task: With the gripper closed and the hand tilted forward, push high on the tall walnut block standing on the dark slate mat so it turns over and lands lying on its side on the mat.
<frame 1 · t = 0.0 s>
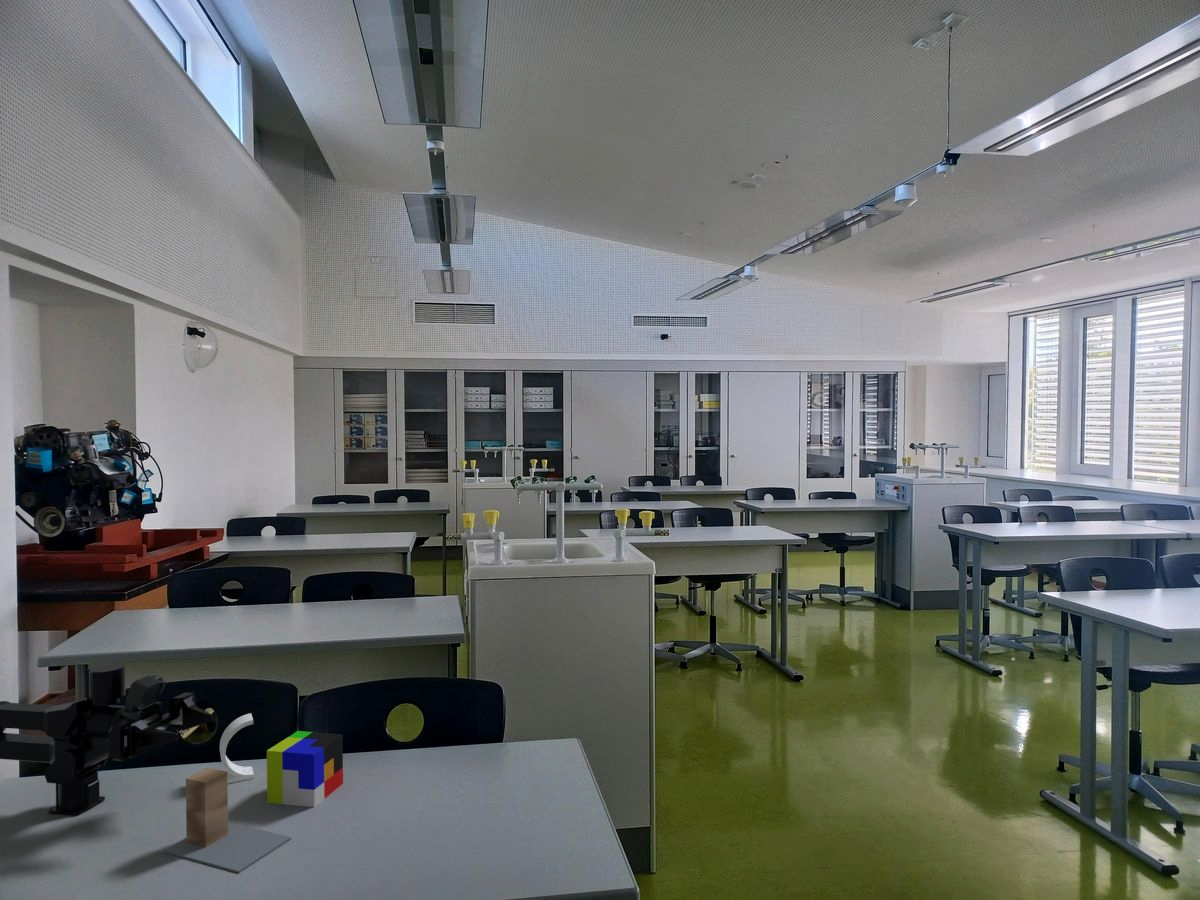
hand: (195, 727, 137), 17 cm above the lab bench, tool horizontal, fingers open, 9 cm apart
slate mat: (228, 845, 127), on the lab bench
headphone stand: (236, 778, 153), on the lab bench
puzzle toy: (306, 794, 146), on the lab bench
walnut block: (207, 838, 129), resting on slate mat
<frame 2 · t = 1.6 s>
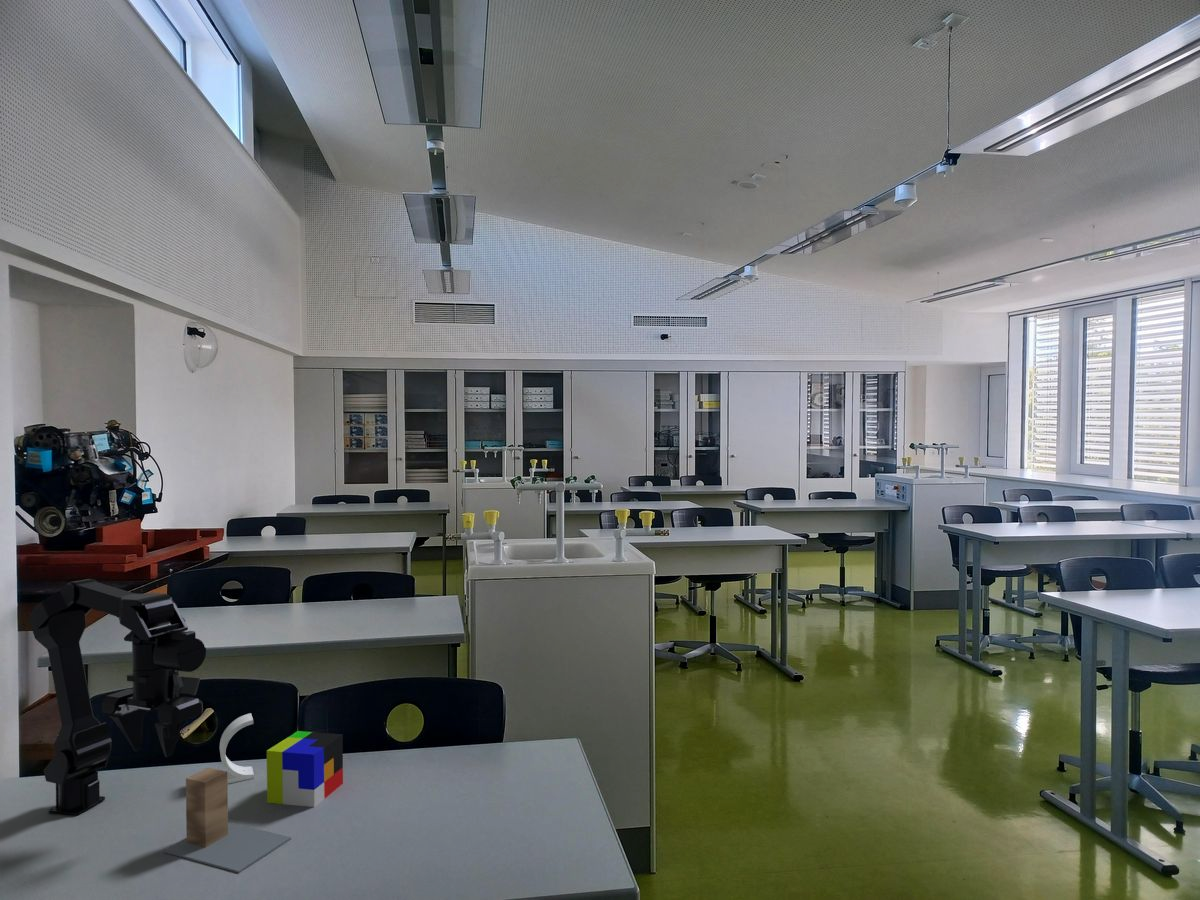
hand: (152, 753, 134), 13 cm above the lab bench, tool pointing down, fingers open, 8 cm apart
nothing on the lab bench moved.
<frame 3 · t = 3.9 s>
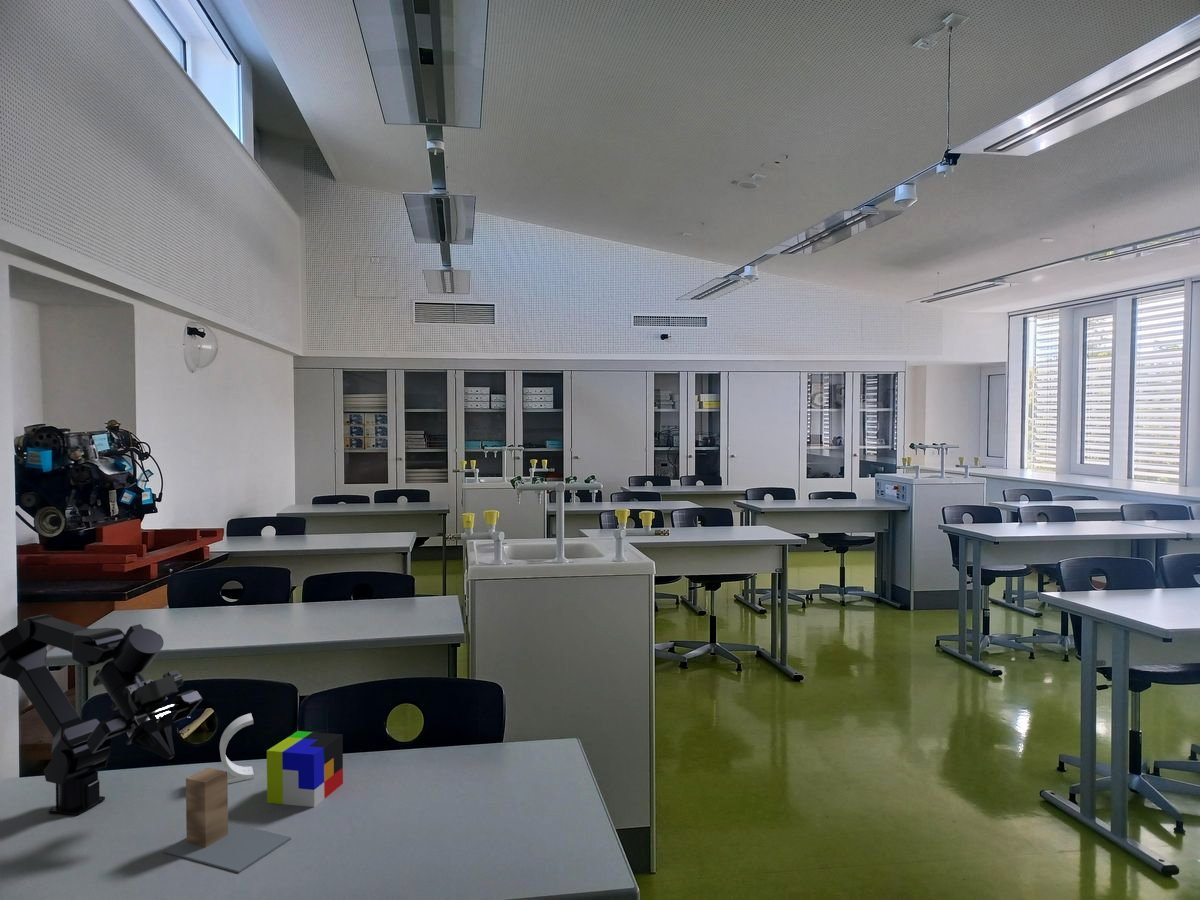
hand: (171, 757, 132), 13 cm above the lab bench, tool tilted 45°, fingers closed
nothing on the lab bench moved.
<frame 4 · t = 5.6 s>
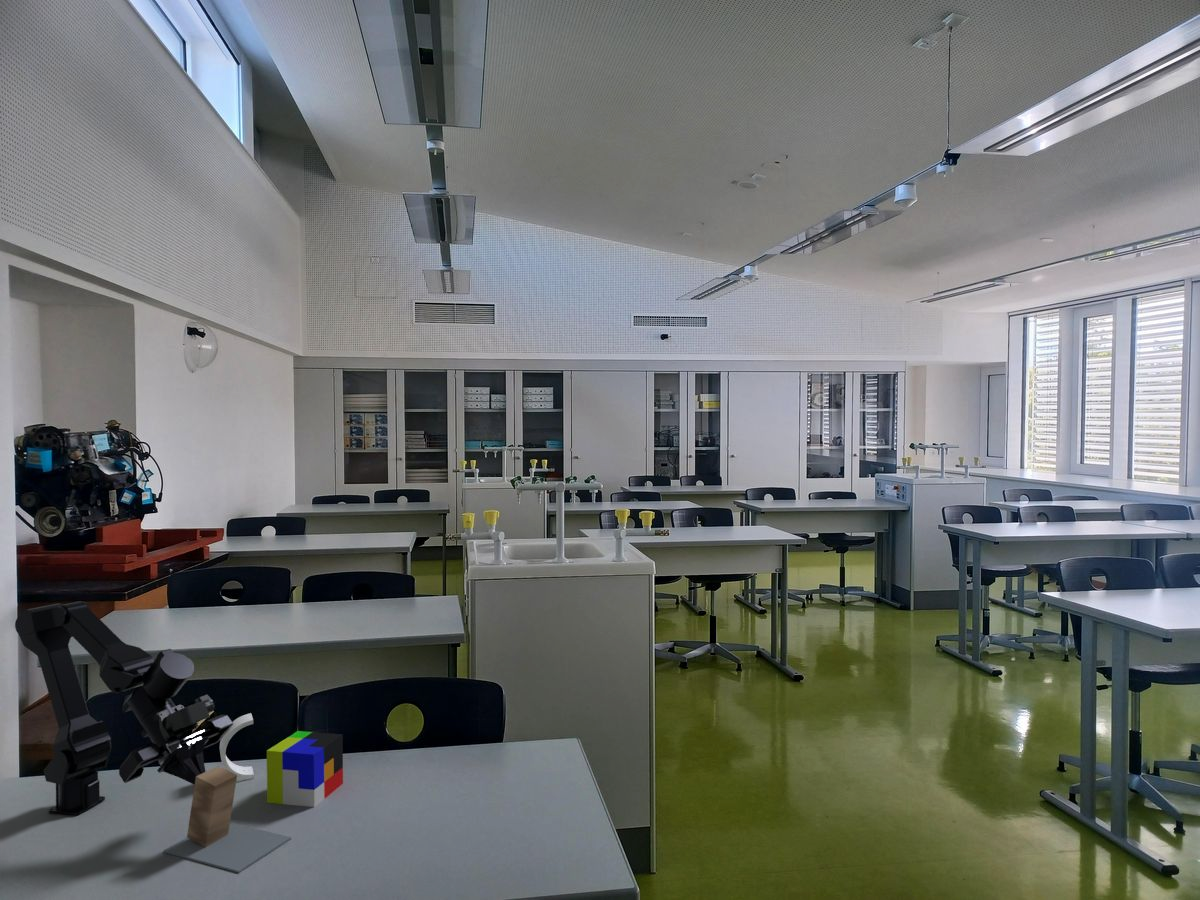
hand: (204, 785, 129), 9 cm above the lab bench, tool tilted 45°, fingers closed, pressing on walnut block
walnut block: (207, 835, 129), point 1 cm above the lab bench, tilted 12°, touching gripper, slate mat
everything else where it was.
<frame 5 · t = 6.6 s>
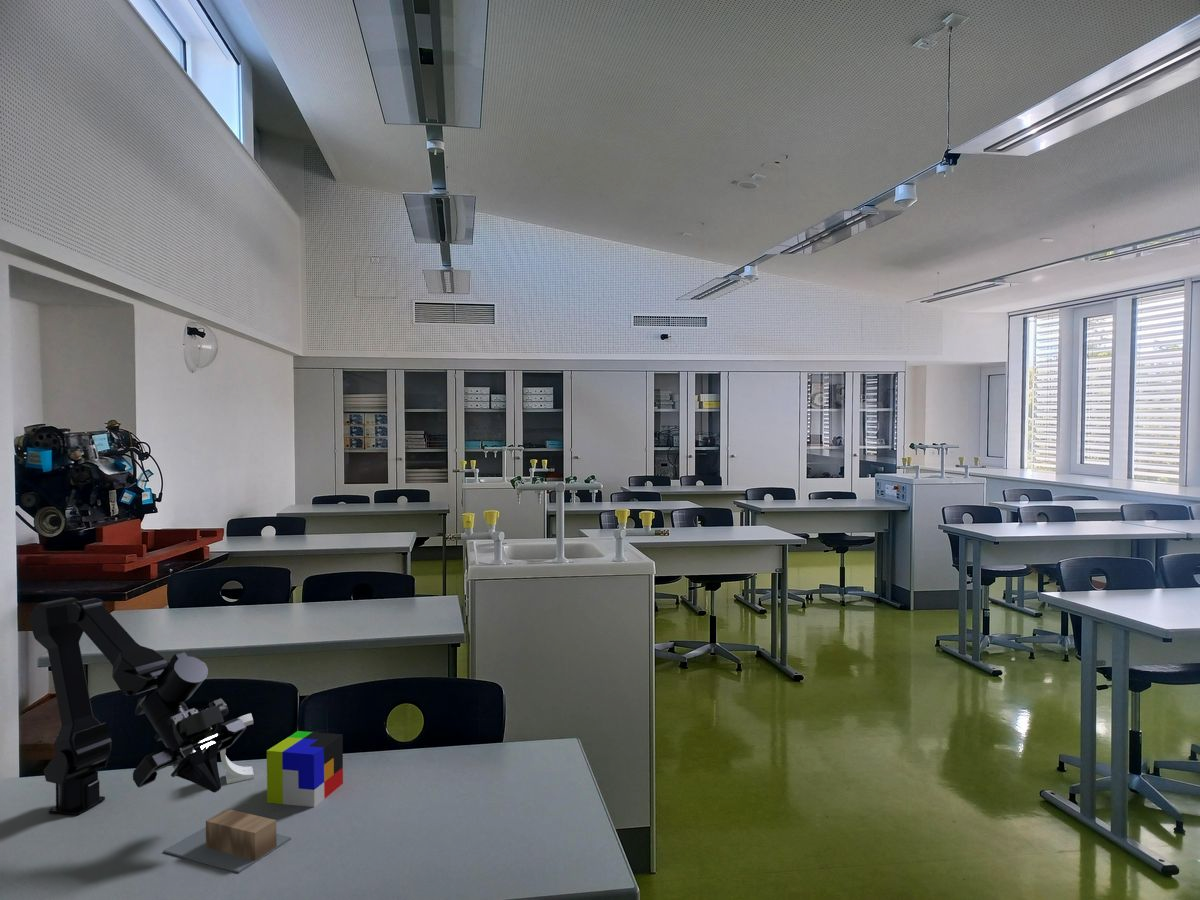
hand: (217, 790, 128), 9 cm above the lab bench, tool tilted 45°, fingers closed
walnut block: (217, 827, 128), point 3 cm above the lab bench, tilted 90°, touching slate mat
everything else where it was.
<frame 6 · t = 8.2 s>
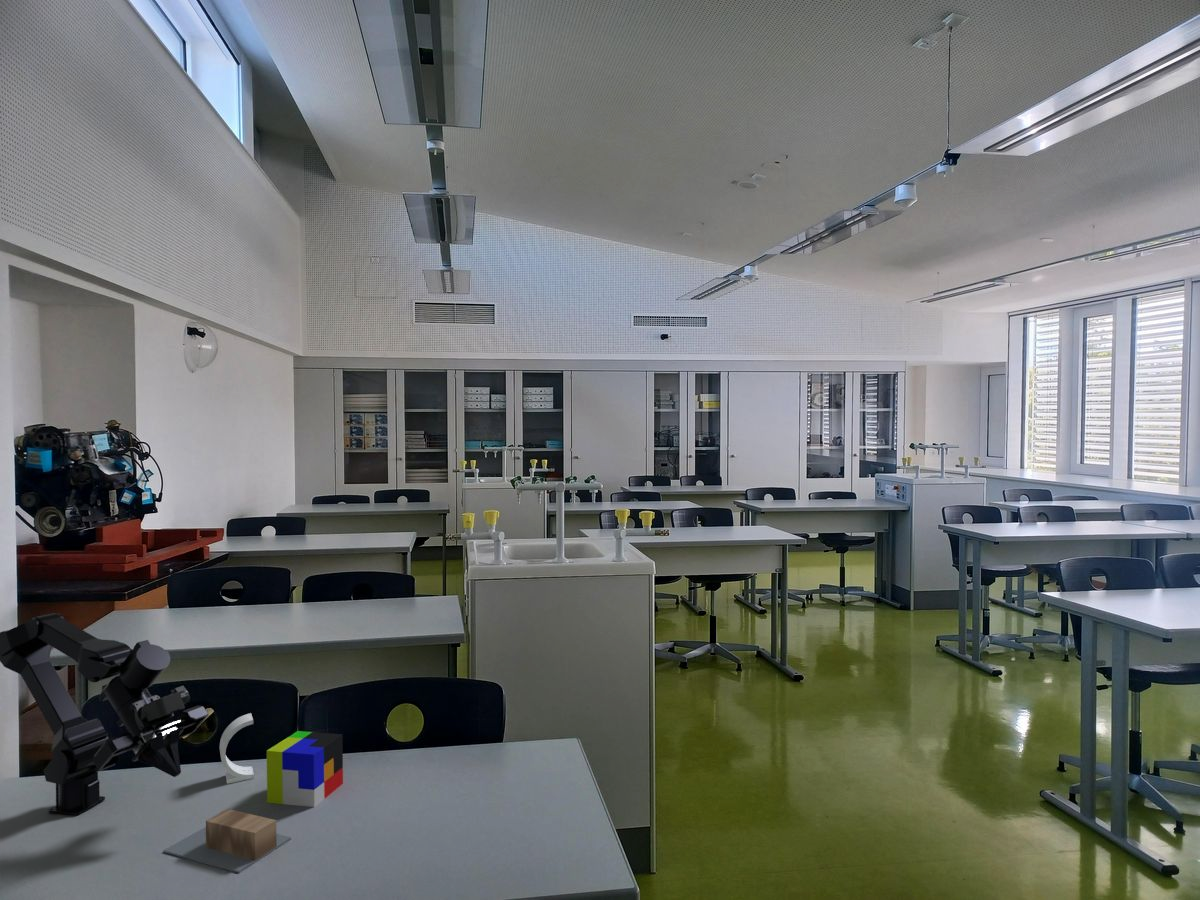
hand: (177, 774, 131), 10 cm above the lab bench, tool tilted 45°, fingers closed
nothing on the lab bench moved.
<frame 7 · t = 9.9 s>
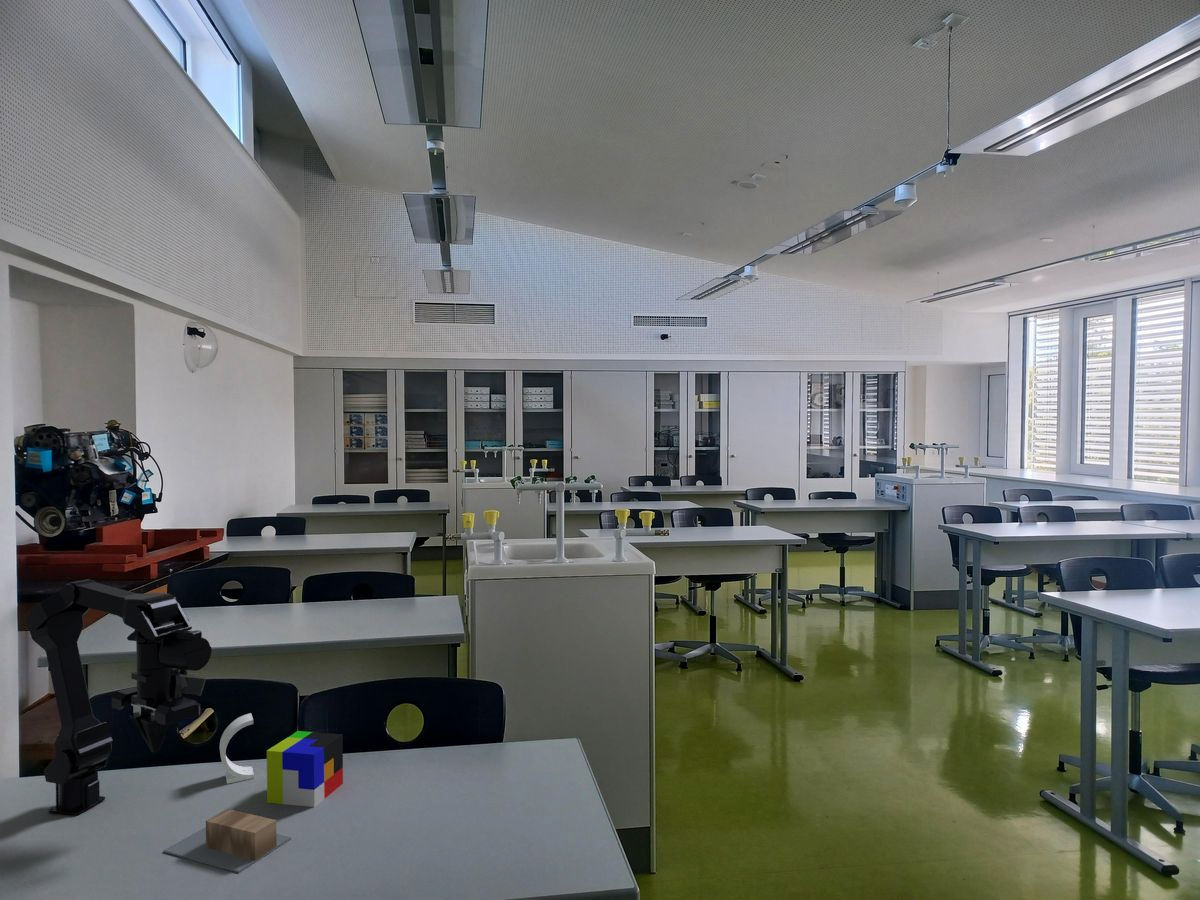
hand: (155, 751, 135), 13 cm above the lab bench, tool pointing down, fingers closed
nothing on the lab bench moved.
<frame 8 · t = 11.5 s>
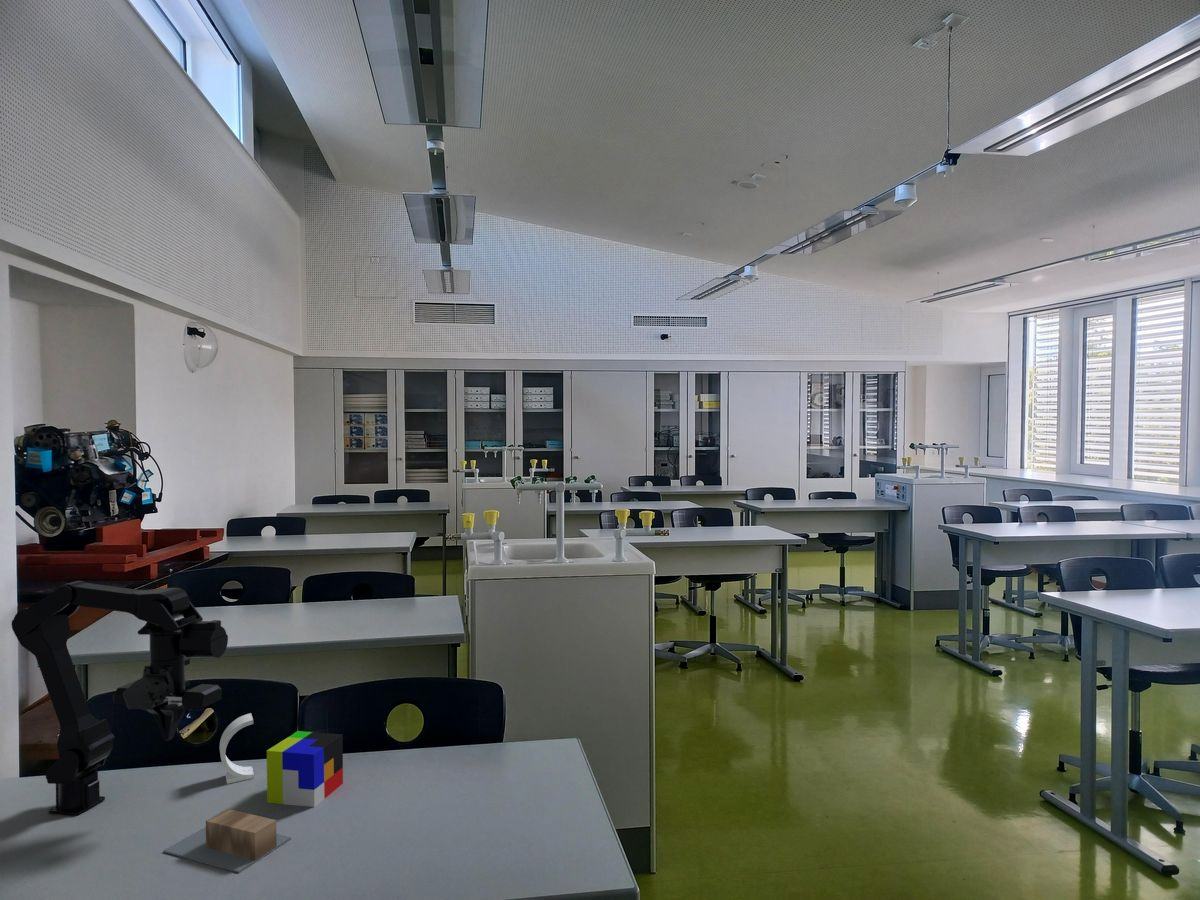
hand: (168, 739, 140), 13 cm above the lab bench, tool pointing down, fingers closed
nothing on the lab bench moved.
at the end: walnut block tilted 90°; walnut block inside the target area (3.3 cm from its centre), point 2.5 cm above the lab bench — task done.
